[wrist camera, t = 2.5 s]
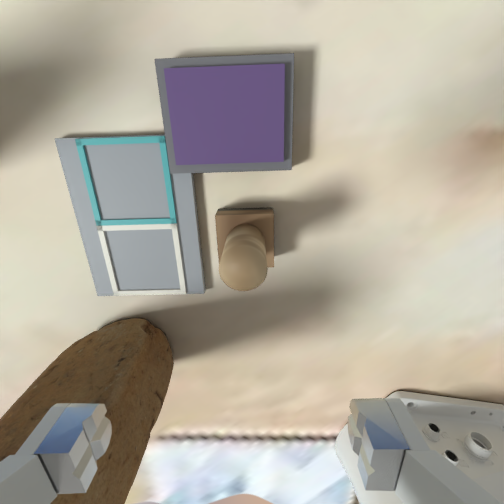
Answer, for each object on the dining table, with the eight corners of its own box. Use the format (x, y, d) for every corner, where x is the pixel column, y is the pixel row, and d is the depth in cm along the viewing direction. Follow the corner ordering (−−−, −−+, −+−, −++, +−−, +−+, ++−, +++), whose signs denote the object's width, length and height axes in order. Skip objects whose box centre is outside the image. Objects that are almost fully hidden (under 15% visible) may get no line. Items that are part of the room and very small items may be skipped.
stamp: (272, 207, 26) (279, 234, 18) (272, 256, 28) (278, 299, 20) (218, 209, 26) (204, 236, 19) (222, 258, 28) (210, 301, 20)
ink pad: (291, 60, 21) (295, 51, 19) (289, 167, 24) (292, 170, 22) (162, 65, 22) (152, 57, 20) (176, 171, 25) (168, 174, 23)
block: (162, 309, 30) (15, 580, 12) (183, 362, 33) (91, 650, 14) (70, 326, 31) (-201, 602, 13) (98, 376, 34) (-91, 663, 15)
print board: (189, 134, 24) (186, 133, 23) (205, 289, 29) (203, 294, 28) (60, 138, 24) (52, 138, 23) (101, 291, 29) (96, 296, 28)
